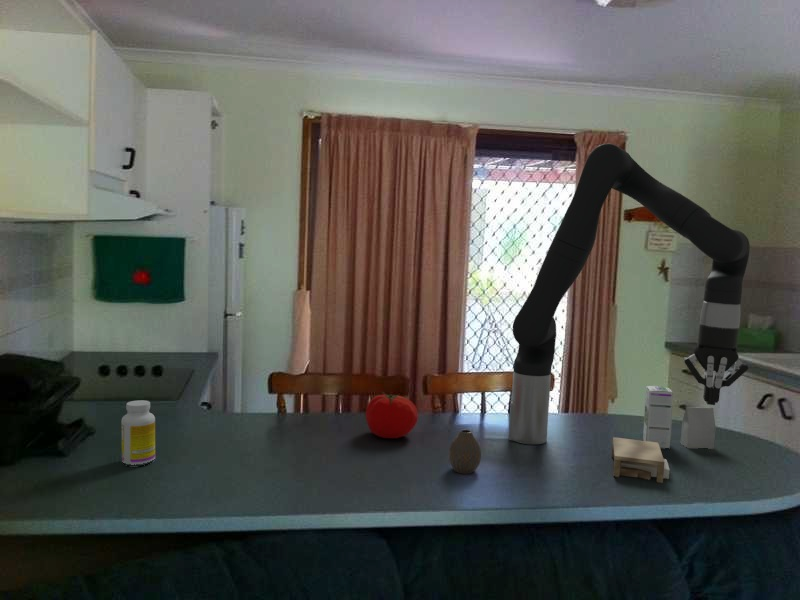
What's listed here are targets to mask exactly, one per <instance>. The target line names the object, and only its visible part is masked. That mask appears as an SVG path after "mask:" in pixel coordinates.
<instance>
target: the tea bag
mask: <svg viewBox="0 0 800 600" xmlns="http://www.w3.org/2000/svg"><path fill="white" fill-rule="evenodd" d="M716 426H717V425H716V419H715V411H714V408H713V407H704V406H703V407H702V406H701V407H700V406H699V407H696V406H694V407H693V406H686V407H685V412H684V414H683V417H682V420H681V431H680V443H681V444H680V443H679V444H680V445H682V446H683V445H684V446H683V447H685V448H686V447H687V448H686V449H698V448H708V449H709V450H714V449H715V447H714V446H715V435H716V428H717V427H716ZM708 449H707V450H708Z"/></svg>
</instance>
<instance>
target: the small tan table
mask: <svg viewBox="0 0 800 600" xmlns="http://www.w3.org/2000/svg"><path fill="white" fill-rule="evenodd" d="M611 445H612V446H611V458H613V472H612V476H613V477H614V476H615V478H620V476H624V477H631V478H640V479H644V480H647V479H648V481H650V480H651V477H652V476H651V472H648V471H644V470H641V469H636V468H629V467H621V460H623V461H631V462H639V463H647V464H655V465H657V477H655V478H656V483H660V484H663V483H664V478H663V475H664V463H665V462H664V459H665V458H664V457H663V454H662V450H661V448H660V447H659V444H658V442H649V441H643V440H639V439H632V438H631V439H630V438H624V437H615V436H612V443H611Z"/></svg>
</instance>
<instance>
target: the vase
mask: <svg viewBox="0 0 800 600" xmlns="http://www.w3.org/2000/svg"><path fill="white" fill-rule="evenodd" d="M448 459H449V464H450V467H452V469H453V470H454V471H455V472H456V473H458V474H461V475H462V474H463V475H464V474H465V475H466V474H472V473H474V472H475V471H476V470H477V469H478V467H479V466H480V462H481V459H482V451H481V447H480V444H479V442H478V441H477V438H475V436H474V435H473V432H472V430H469V429H462V430H460V431H459V433H458V434H457V436H456V437H455V438H454V439H453V441H452V442H451V444H450V446H449V449H448Z"/></svg>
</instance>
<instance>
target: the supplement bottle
mask: <svg viewBox="0 0 800 600" xmlns="http://www.w3.org/2000/svg"><path fill="white" fill-rule="evenodd" d="M125 408H126V409H125V410H126V411H127V412H126V414H125V415H123V416H122V418H121V420H120V421H121V423H120V424H121V463H122V462H123V463H126V464H131V465H134V464H135V465H136V464H143V463H147V462H150V461H152V460H154V459H155V460H156V417H155V415H154V414H153V413H151V412H150V409H151V402H150V401H149V400H142V399H141V400H138V399H137V400H132V401H131V400H130V401H128V402H127V403H126V405H125ZM155 460H154V461H155ZM123 463H122V464H123Z"/></svg>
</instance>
